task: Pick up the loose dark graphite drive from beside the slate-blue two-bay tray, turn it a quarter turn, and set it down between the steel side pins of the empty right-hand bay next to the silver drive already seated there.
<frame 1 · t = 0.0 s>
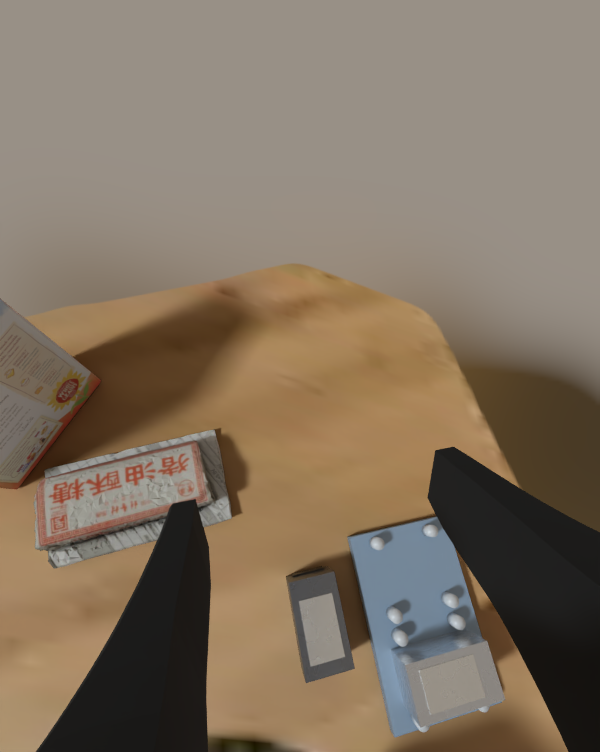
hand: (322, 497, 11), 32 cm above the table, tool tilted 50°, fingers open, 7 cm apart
loose drive: (314, 613, 39), on the table
drive tray: (417, 613, 39), on the table
packaged product: (142, 494, 41), on the table
cracker box: (42, 421, 42), on the table
seated drive: (435, 665, 37), point 1 cm above the table, touching drive tray
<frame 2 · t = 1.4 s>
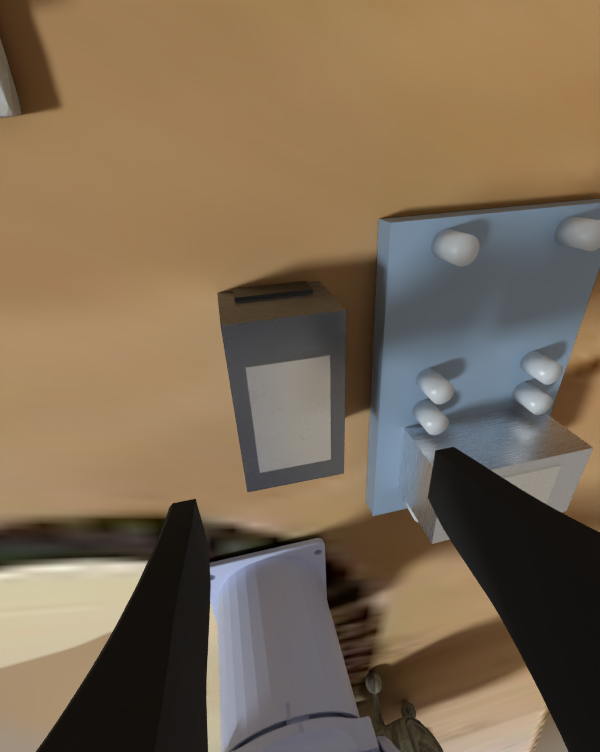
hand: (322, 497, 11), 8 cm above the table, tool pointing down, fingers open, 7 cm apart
tabletop clock: (365, 697, 40), on the table
loose drive: (275, 365, 19), on the table
drive tray: (463, 374, 21), on the table
seated drive: (463, 446, 22), point 1 cm above the table, touching drive tray
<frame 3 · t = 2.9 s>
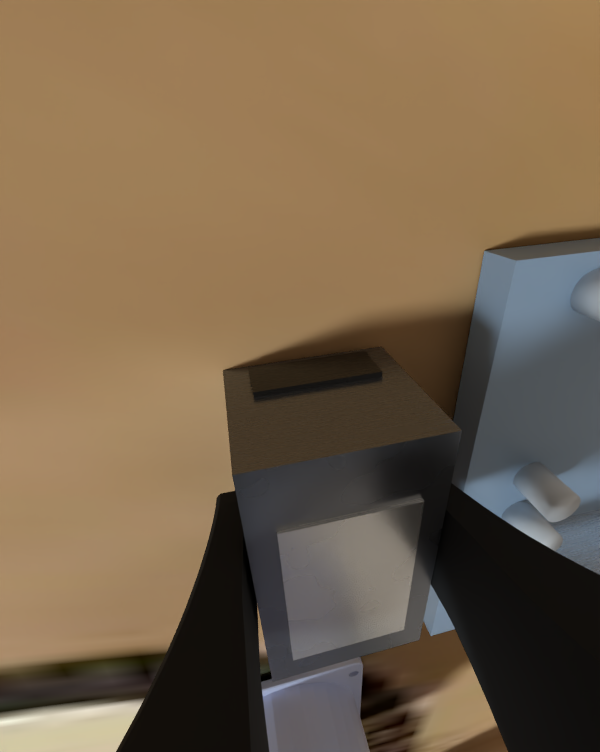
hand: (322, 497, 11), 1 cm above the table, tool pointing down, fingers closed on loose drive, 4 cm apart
loose drive: (310, 465, 12), on the table, touching gripper
drive tray: (566, 457, 15), on the table
seated drive: (560, 550, 16), point 1 cm above the table, touching drive tray
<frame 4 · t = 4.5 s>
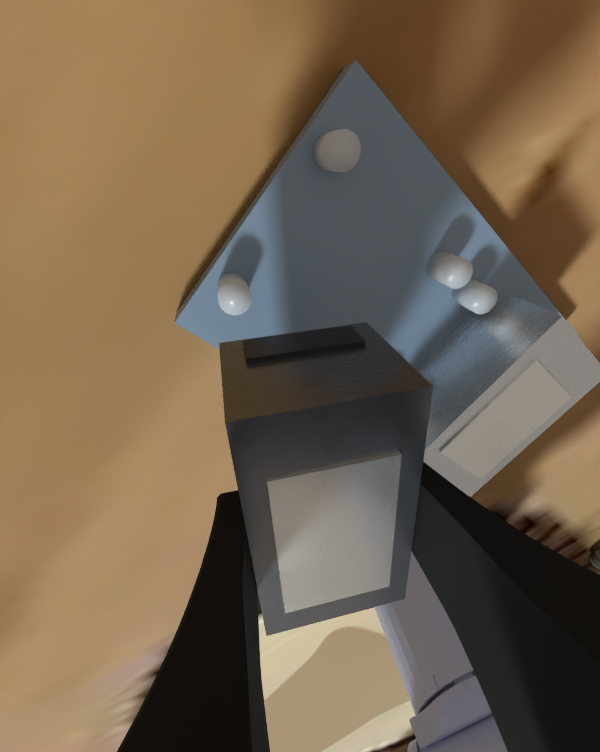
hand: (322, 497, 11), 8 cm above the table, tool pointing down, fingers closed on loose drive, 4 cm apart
loose drive: (302, 437, 13), point 6 cm above the table, touching gripper
drive tray: (394, 321, 19), on the table
seated drive: (456, 374, 20), point 1 cm above the table, touching drive tray
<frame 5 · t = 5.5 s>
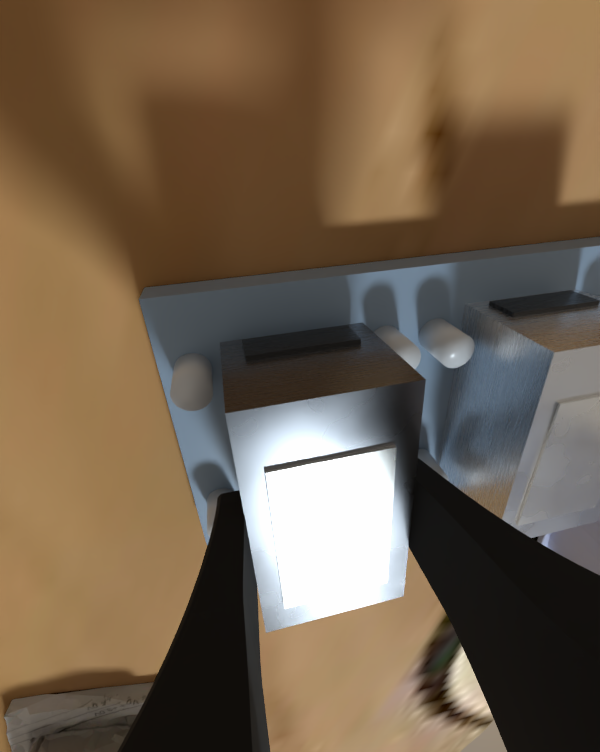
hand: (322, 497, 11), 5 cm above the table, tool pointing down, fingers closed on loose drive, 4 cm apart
loose drive: (301, 436, 14), point 2 cm above the table, touching gripper
drive tray: (390, 391, 16), on the table
packaged product: (107, 741, 27), on the table
seated drive: (498, 390, 16), point 1 cm above the table, touching drive tray
when the fingers open (4 cm above the table, at t = 6.2 s): loose drive stays where it is, resting on drive tray.
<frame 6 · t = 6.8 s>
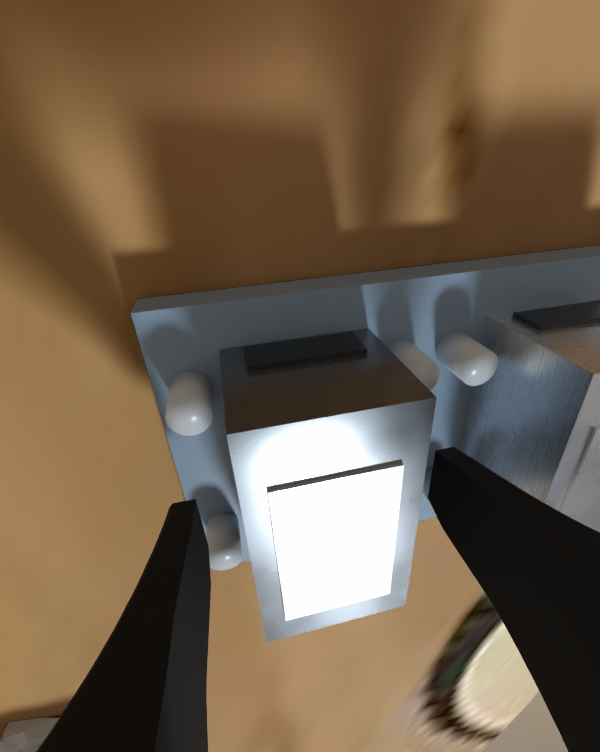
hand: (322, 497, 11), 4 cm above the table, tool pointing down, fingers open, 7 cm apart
loose drive: (303, 443, 13), point 1 cm above the table, touching drive tray
drive tray: (402, 406, 15), on the table
seated drive: (518, 405, 15), point 1 cm above the table, touching drive tray
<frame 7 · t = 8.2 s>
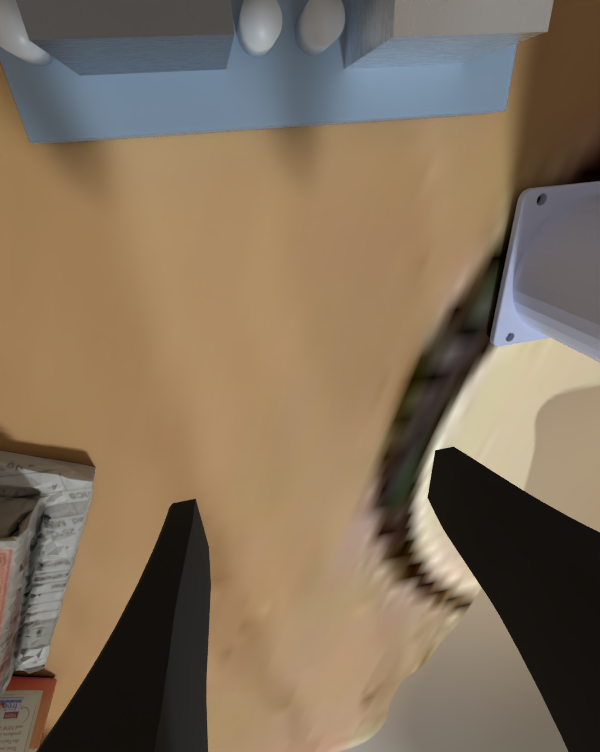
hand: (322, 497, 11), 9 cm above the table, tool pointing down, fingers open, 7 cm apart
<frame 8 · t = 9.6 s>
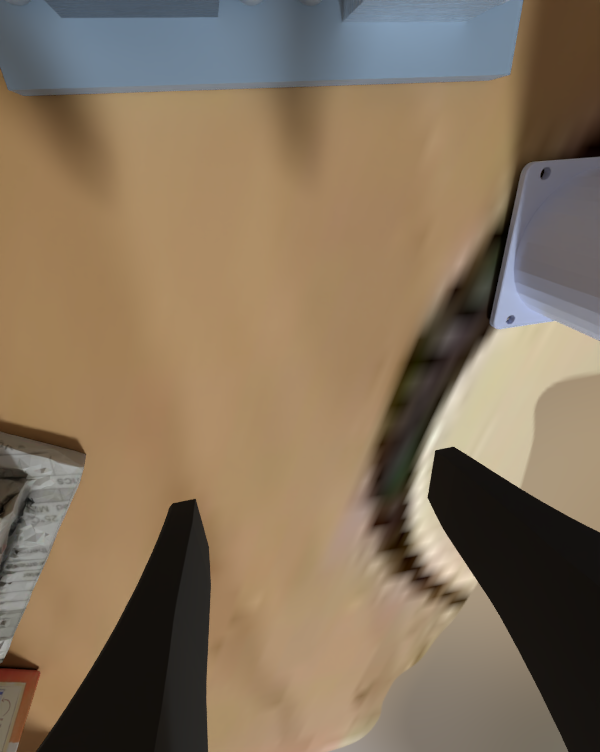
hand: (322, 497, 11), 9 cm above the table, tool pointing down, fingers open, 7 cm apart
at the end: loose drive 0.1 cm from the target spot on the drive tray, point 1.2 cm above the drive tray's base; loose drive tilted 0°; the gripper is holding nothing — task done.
